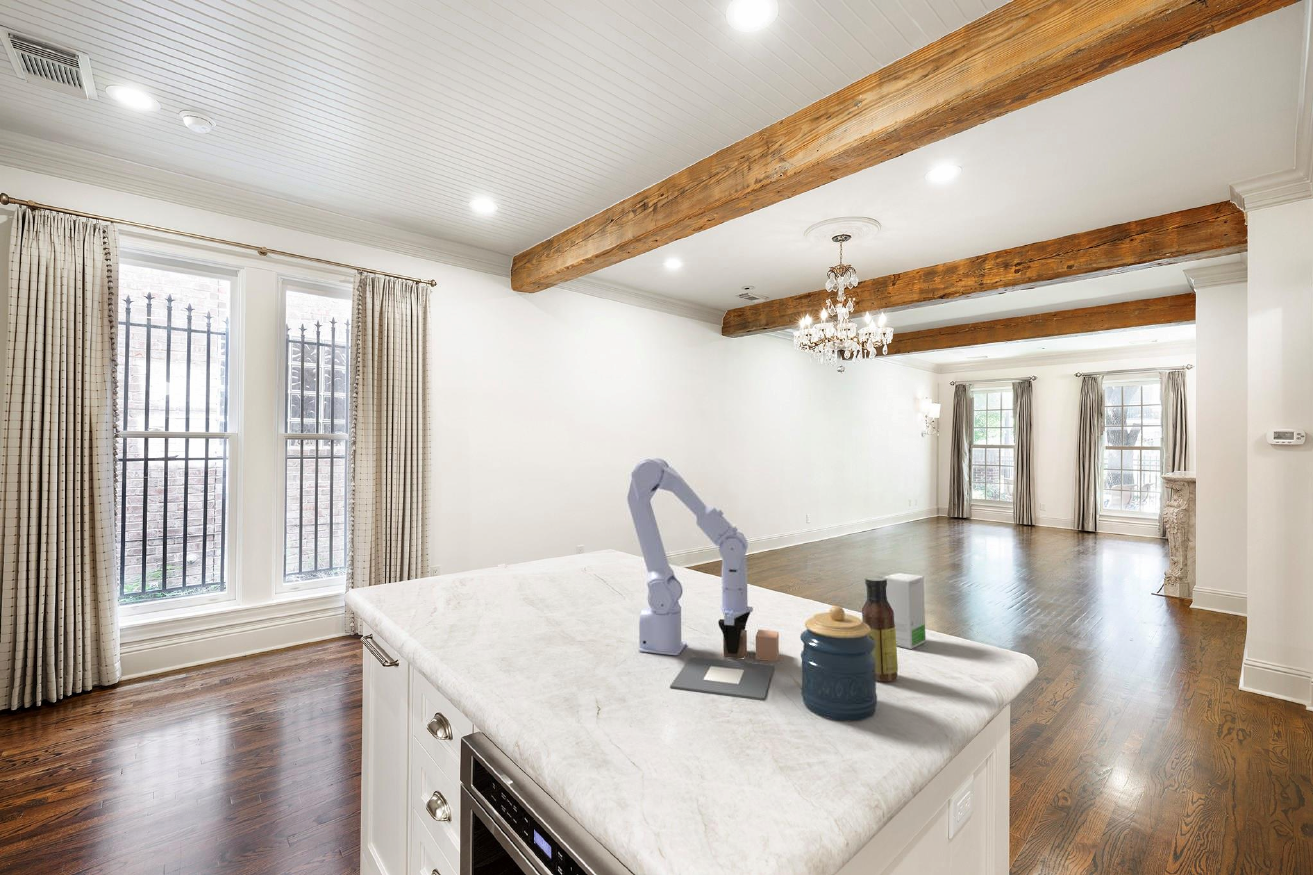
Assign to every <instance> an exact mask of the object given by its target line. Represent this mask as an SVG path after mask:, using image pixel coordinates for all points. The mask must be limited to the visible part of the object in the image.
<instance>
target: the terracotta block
mask: <svg viewBox="0 0 1313 875" xmlns="http://www.w3.org/2000/svg"><path fill="white" fill-rule="evenodd" d="M779 639H780V638H779V631H774V630H765V629H758V630H757V632H756V635H755V659H756V658H757V659H756V660H762V659H763V660H764V661H772V660H773V662H777V661H778V657H779V655H778V654H780V652H779V650H780V649H779V648H780V647H779V646H780V644H779V643H780V642H779V641H780V640H779ZM763 660H762V661H763Z"/></svg>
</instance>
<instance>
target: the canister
mask: <svg viewBox="0 0 1313 875" xmlns="http://www.w3.org/2000/svg"><path fill="white" fill-rule="evenodd" d="M804 626H805V628H806V629H805V630H804V631H801V633H800V637H799V638H800V640H801V642H802V643H803V649H802V650H801V653H800V658H801V686H800V689H801V691H800V693H801V697H802V698H801V699H802V702H803V705H804V706H805V707H806V708H807V709H808V710H810V712H812V713H814V714H816V715H818V716H821V717H824V718H827V719H830V720H836V721H846V722H848V721H849V722H854V721H862V720H865V719H868V718H870V717H872V716H873V715H875V713H876V710H877V709H876V708H877V706H878V695H877V683H876V682H877V681H876V659H875V658H874V656H873V649H874V648H875V647H876V641H875V640H874V639H873V638H872V637H871V636H870V635H869V633H870V632H871V628H870V627H869V625H867V624H866V623H864V622H863V620H862V619H861V618H860V617H858V616H855V615H852V614H848V613H845V610H844V609H843V607H841V606H840V605H839V606H838V605H834V606H832V607H831V608H830V610H829V612H821V613H817V614H815V615H813V616H812V617H811V618H809V619H807V620H806V621H805V623H804Z"/></svg>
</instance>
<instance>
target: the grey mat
mask: <svg viewBox="0 0 1313 875" xmlns="http://www.w3.org/2000/svg"><path fill="white" fill-rule="evenodd" d="M774 668H775V667H774V664H773V665H772V664H767V663H766V664H765V663H757V662H746V661H739V660H738V661H737V660H730V659H729V660H728V659H722V658H721V659H719V658H711V657H701V656H692V655H691V656H690V657H689V658H688V659H687V661H686V662H685V664H684V665H683V667H682V668H681V669H680V671H679V673H678V674H677V675H676V677H675V678H674V679H673V681H672V682H671V684H670V686H669V688H670V689H674V690H675V689H676V690H682V691H683V690H684V691H690V692H698V693H707V694H715V695H720V696H721V695H723V696H730V697H737V698H743V699H744V698H745V699H752V700H760V701H765V699H766V695H767V691H768V688H769V685H770V681H771V678H772V674H773V671H774Z"/></svg>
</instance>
